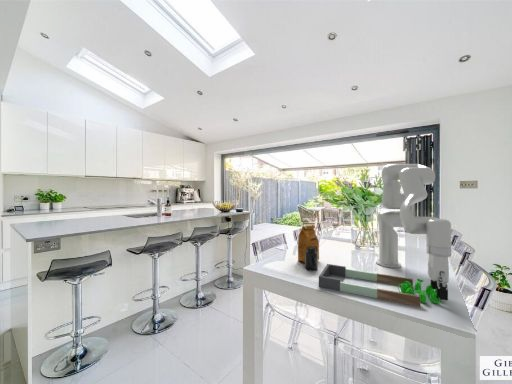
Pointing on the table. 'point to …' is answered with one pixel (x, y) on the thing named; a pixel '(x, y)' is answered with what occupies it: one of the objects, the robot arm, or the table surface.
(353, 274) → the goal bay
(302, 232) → the coffee package
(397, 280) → the walnut channel
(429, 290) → the green bumpy clump
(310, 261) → the supplement bottle
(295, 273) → the table surface
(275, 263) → the table surface
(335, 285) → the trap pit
